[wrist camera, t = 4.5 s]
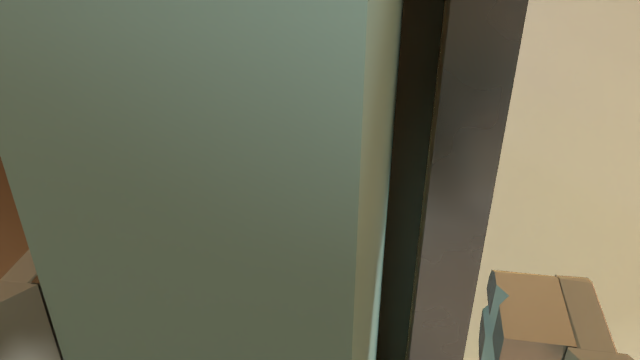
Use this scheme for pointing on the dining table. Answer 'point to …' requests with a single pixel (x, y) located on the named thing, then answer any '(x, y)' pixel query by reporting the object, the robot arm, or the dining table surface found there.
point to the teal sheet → (203, 172)
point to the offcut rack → (462, 169)
